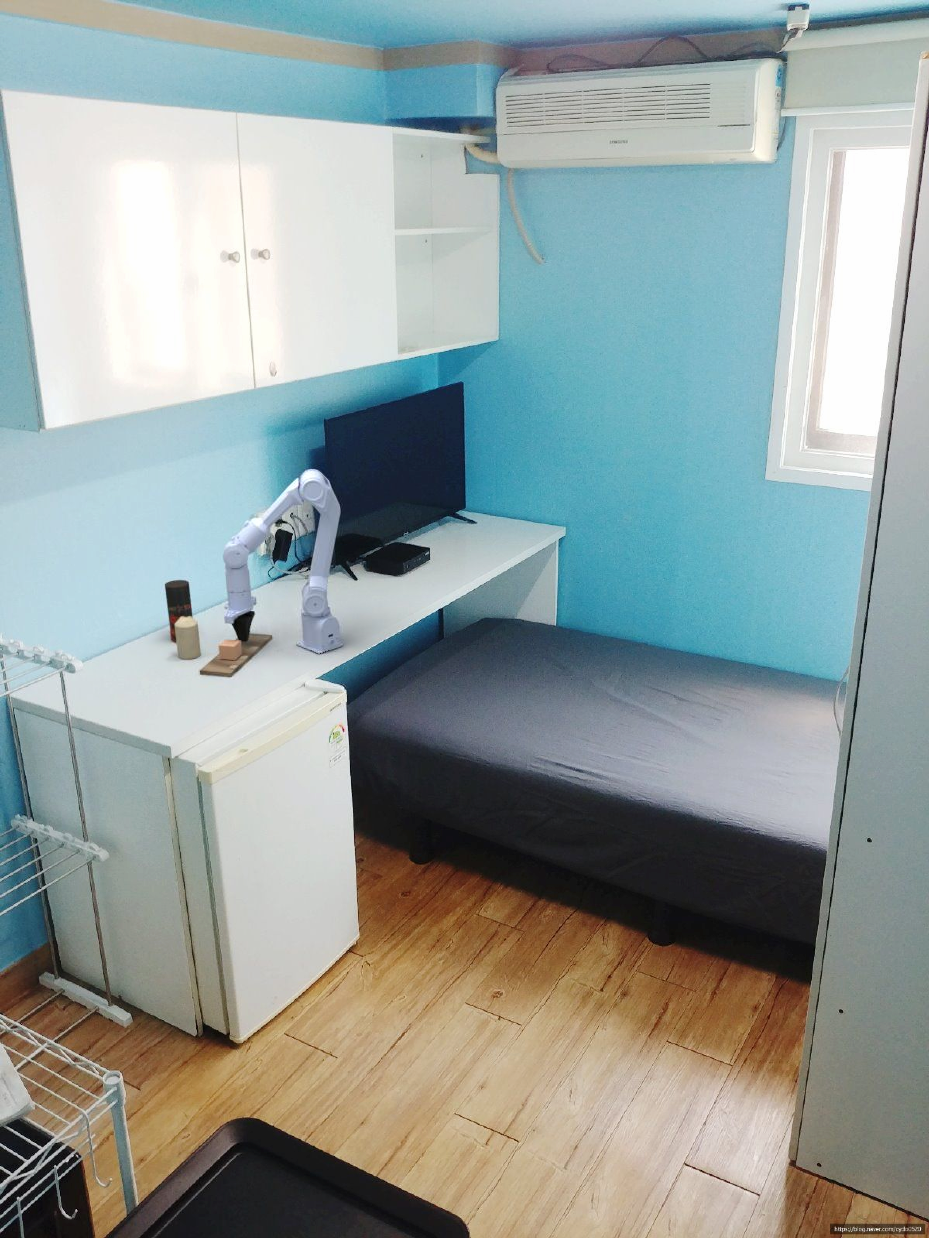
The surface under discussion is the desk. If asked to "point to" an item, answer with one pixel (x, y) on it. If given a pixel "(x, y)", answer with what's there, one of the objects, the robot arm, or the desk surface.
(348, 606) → the desk surface
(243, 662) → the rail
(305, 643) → the robot arm
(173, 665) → the desk surface
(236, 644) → the peach colored cube
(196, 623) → the candle
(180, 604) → the deodorant
